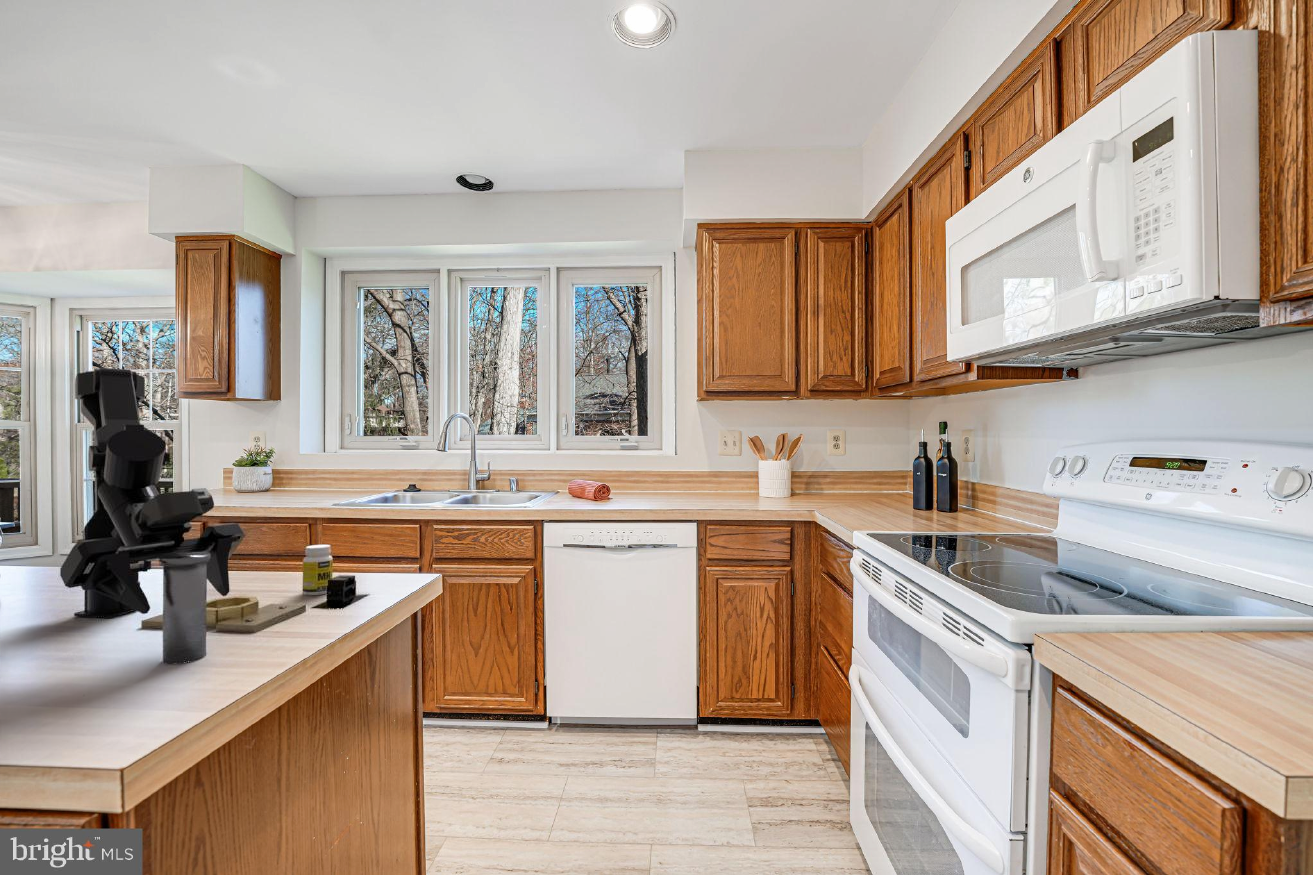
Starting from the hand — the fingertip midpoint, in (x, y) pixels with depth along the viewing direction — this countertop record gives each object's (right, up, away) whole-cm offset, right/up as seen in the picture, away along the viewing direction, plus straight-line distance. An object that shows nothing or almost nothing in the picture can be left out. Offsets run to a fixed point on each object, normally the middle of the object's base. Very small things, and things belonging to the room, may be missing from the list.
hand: (188, 602), depth 78 cm
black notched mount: (+5, -8, +28) cm, 30 cm away
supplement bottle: (-2, -7, +34) cm, 35 cm away
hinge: (-7, -7, +17) cm, 20 cm away
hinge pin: (-1, -7, 0) cm, 7 cm away
